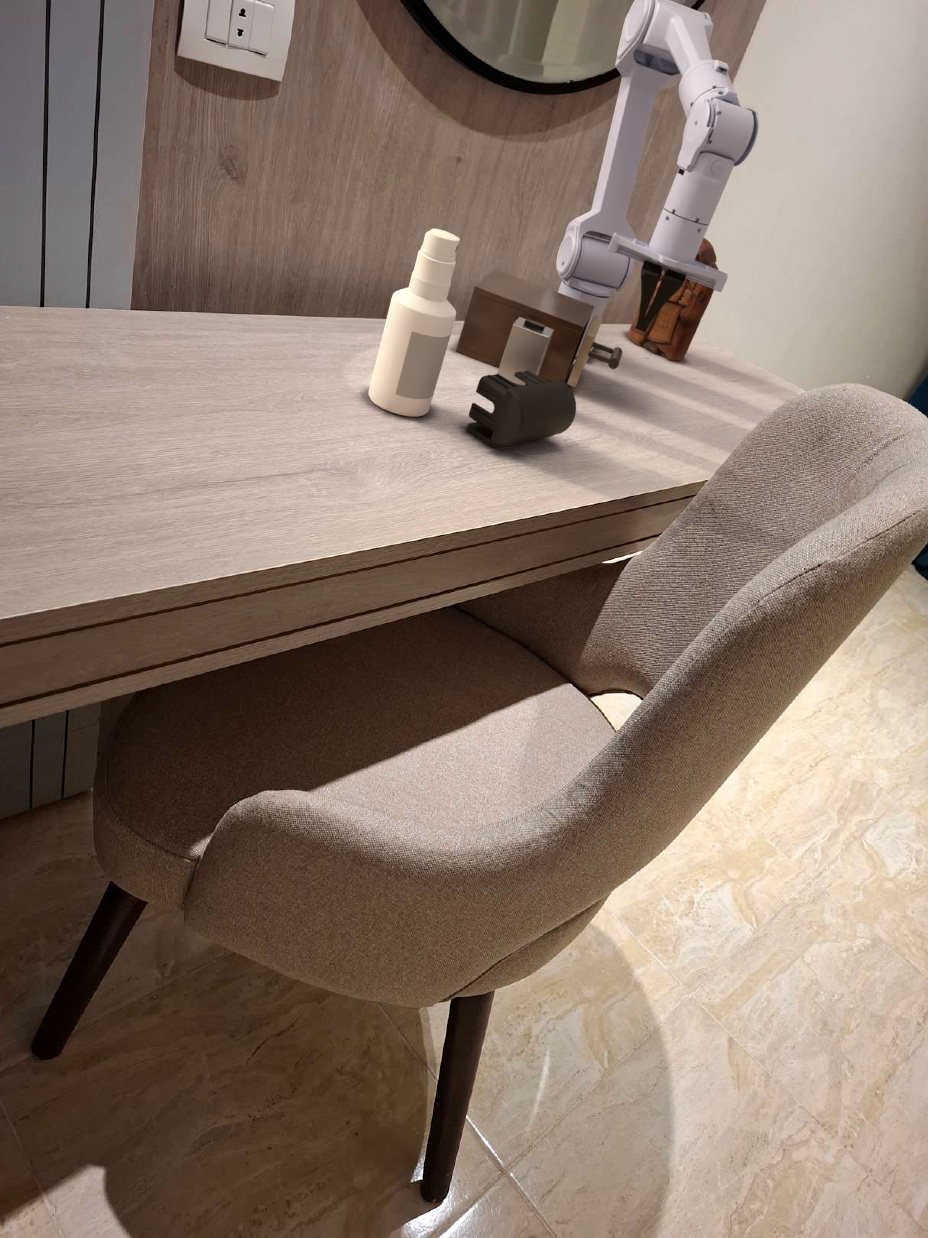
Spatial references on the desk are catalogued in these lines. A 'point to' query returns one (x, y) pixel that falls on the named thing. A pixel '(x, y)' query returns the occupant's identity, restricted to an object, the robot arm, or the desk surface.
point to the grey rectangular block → (525, 349)
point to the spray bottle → (417, 331)
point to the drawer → (586, 351)
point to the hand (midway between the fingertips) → (640, 328)
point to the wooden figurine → (677, 313)
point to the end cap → (521, 409)
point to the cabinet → (513, 298)
